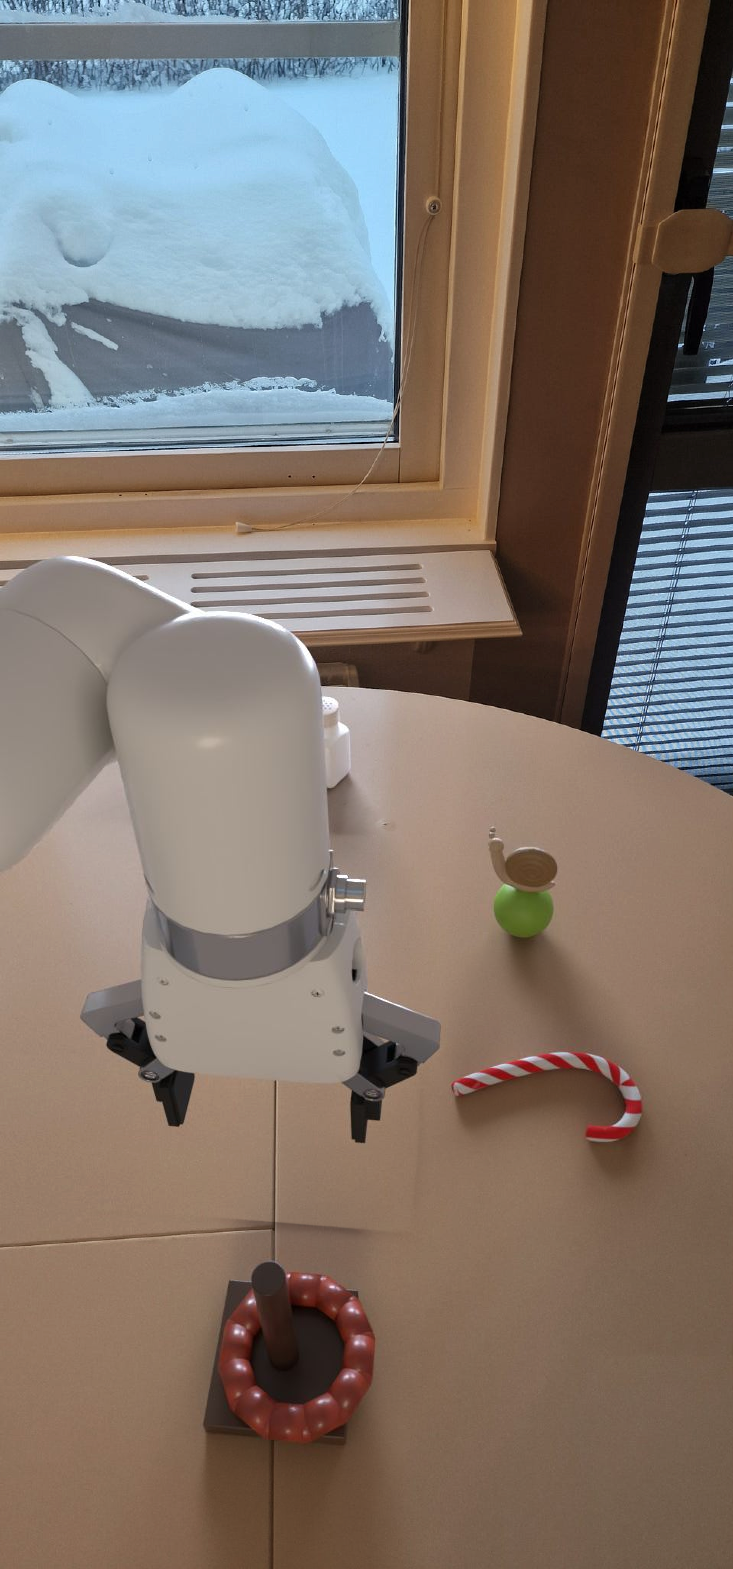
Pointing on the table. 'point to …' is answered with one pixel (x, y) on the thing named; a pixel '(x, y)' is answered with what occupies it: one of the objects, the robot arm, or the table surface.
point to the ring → (321, 1411)
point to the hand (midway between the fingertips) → (271, 1109)
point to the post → (279, 1352)
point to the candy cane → (565, 1061)
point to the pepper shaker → (335, 743)
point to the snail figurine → (523, 888)
